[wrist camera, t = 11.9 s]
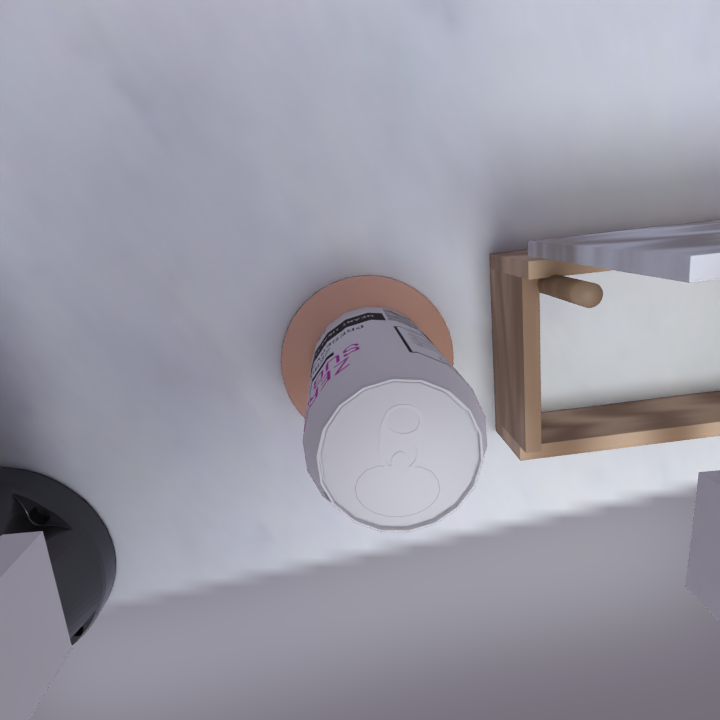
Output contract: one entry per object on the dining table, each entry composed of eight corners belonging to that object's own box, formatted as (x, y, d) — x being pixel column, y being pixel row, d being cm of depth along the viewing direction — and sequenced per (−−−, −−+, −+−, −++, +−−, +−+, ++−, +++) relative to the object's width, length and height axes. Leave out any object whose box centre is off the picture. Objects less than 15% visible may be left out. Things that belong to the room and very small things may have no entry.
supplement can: (424, 419, 37) (486, 545, 23) (309, 416, 37) (298, 543, 22) (435, 307, 35) (510, 368, 21) (313, 302, 35) (304, 360, 20)
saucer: (294, 449, 38) (294, 452, 37) (270, 285, 35) (269, 286, 34) (455, 429, 38) (458, 432, 38) (446, 266, 35) (448, 266, 35)
